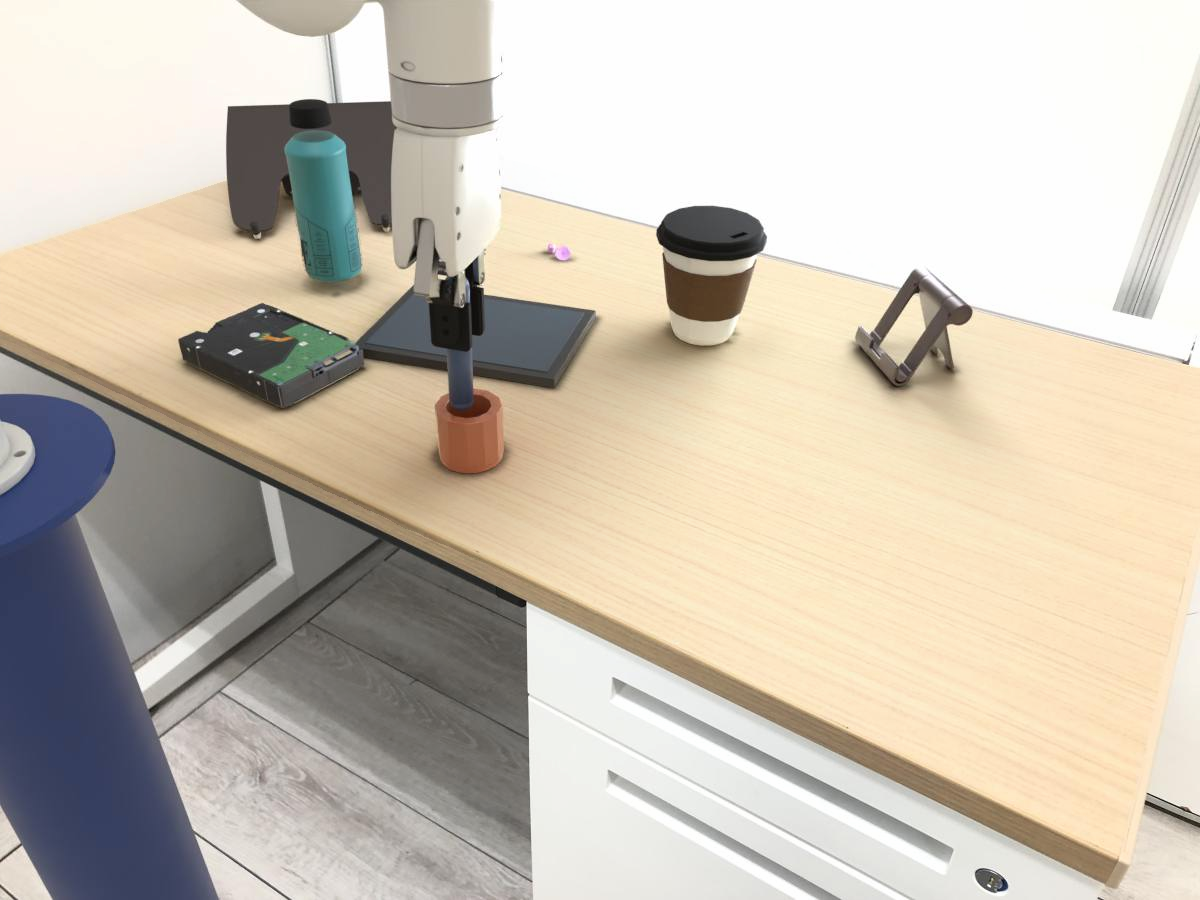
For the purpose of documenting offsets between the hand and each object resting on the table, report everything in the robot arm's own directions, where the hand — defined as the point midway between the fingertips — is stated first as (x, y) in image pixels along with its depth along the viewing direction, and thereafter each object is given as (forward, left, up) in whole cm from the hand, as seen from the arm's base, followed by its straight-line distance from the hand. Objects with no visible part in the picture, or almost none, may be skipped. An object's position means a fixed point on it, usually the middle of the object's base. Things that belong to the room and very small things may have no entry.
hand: (458, 338), depth 75 cm
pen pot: (0, 0, -11) cm, 11 cm away
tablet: (+20, +7, -11) cm, 24 cm away
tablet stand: (+28, -36, -11) cm, 47 cm away
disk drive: (+9, +23, -11) cm, 27 cm away
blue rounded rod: (0, 0, -7) cm, 7 cm away
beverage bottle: (+27, +27, -11) cm, 40 cm away
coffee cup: (+28, -15, -11) cm, 34 cm away
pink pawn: (+42, +5, -11) cm, 44 cm away
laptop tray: (+47, +39, -11) cm, 62 cm away
